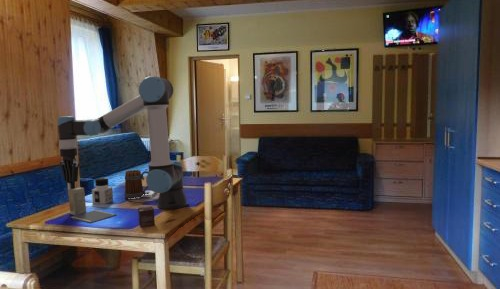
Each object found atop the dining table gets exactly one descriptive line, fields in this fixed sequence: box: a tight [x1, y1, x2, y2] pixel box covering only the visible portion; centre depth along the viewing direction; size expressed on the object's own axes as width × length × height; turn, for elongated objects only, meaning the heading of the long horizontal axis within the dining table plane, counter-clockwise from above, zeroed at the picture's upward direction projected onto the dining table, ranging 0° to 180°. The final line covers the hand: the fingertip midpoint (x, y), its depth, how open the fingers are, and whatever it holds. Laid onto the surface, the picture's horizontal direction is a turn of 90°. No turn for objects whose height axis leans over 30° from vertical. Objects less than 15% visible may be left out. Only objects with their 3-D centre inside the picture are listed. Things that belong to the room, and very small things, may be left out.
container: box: [91, 177, 114, 205], centre depth 208 cm, size 8×8×13 cm
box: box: [137, 205, 156, 228], centre depth 167 cm, size 6×6×7 cm
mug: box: [124, 169, 150, 200], centre depth 217 cm, size 16×11×15 cm
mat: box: [68, 209, 117, 224], centre depth 181 cm, size 16×14×1 cm
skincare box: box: [67, 186, 87, 216], centre depth 187 cm, size 6×4×12 cm
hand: (71, 195), depth 189 cm, fingers closed
